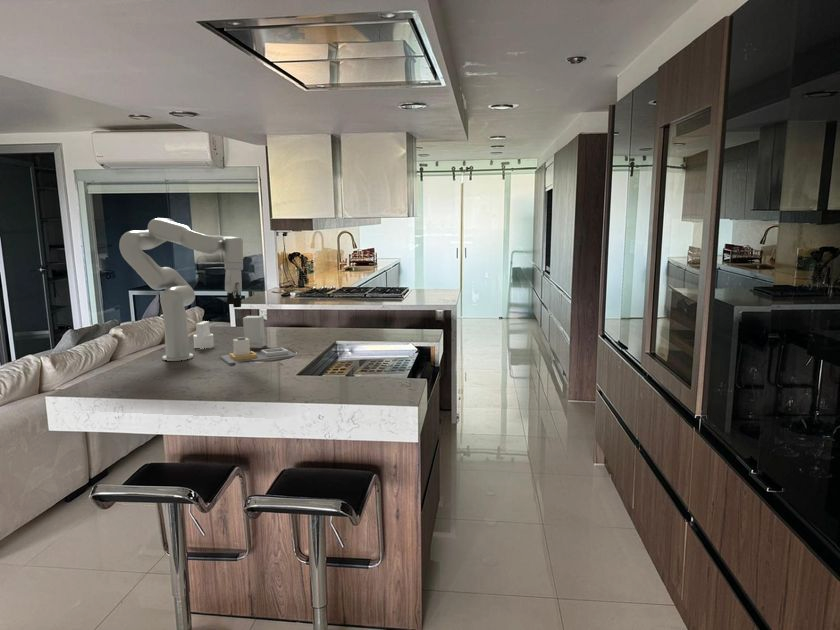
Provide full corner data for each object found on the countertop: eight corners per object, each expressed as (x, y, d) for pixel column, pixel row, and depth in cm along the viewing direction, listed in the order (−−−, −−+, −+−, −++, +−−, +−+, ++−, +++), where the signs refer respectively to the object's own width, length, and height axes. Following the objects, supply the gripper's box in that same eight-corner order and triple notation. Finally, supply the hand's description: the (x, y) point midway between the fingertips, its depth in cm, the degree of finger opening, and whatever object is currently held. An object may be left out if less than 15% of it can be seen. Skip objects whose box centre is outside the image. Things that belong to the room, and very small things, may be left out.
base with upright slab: (209, 349, 272) (208, 324, 270) (190, 349, 272) (189, 324, 270) (216, 345, 281) (215, 321, 279) (198, 345, 281) (197, 321, 279)
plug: (233, 357, 251) (232, 337, 249) (247, 355, 254) (246, 336, 253) (236, 359, 247) (235, 339, 246) (250, 357, 251) (249, 337, 249)
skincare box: (265, 347, 277) (264, 315, 274) (260, 350, 270) (259, 317, 268) (249, 346, 277) (247, 315, 275) (243, 349, 271) (242, 317, 268)
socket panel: (220, 358, 254) (220, 352, 253) (285, 350, 270) (285, 345, 269) (229, 365, 240) (229, 359, 240) (297, 357, 256) (297, 351, 256)
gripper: (219, 264, 249) (220, 303, 252) (230, 267, 235) (230, 308, 238) (237, 264, 254) (237, 302, 256) (248, 267, 239) (248, 308, 242)
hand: (234, 305), depth 247 cm, fingers open, 9 cm apart
